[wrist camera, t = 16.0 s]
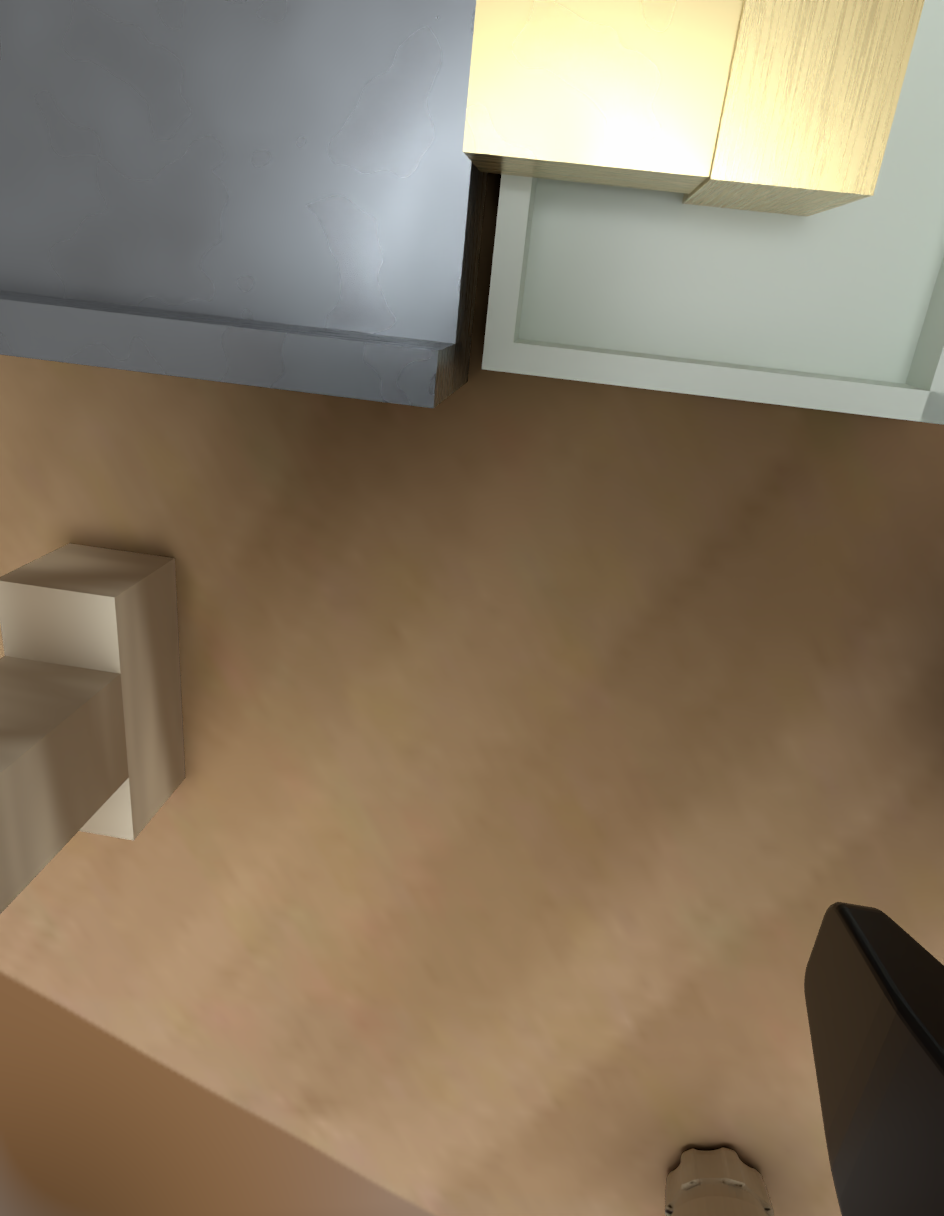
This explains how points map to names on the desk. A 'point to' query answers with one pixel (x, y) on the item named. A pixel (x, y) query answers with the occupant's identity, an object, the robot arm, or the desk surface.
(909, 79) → the tray
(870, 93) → the wooden block
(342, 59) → the slot rail
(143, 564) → the pale step bench
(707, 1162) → the handle
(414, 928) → the desk surface
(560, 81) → the chip
